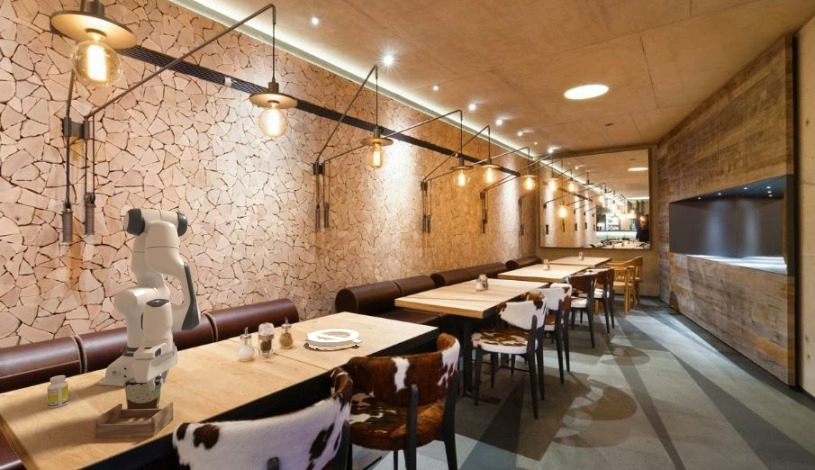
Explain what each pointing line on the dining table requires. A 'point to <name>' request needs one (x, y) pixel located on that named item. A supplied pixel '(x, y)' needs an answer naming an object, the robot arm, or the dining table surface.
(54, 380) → the supplement bottle
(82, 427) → the dining table surface
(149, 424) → the wooden tray
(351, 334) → the white circle with bar
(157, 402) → the food container
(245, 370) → the dining table surface
